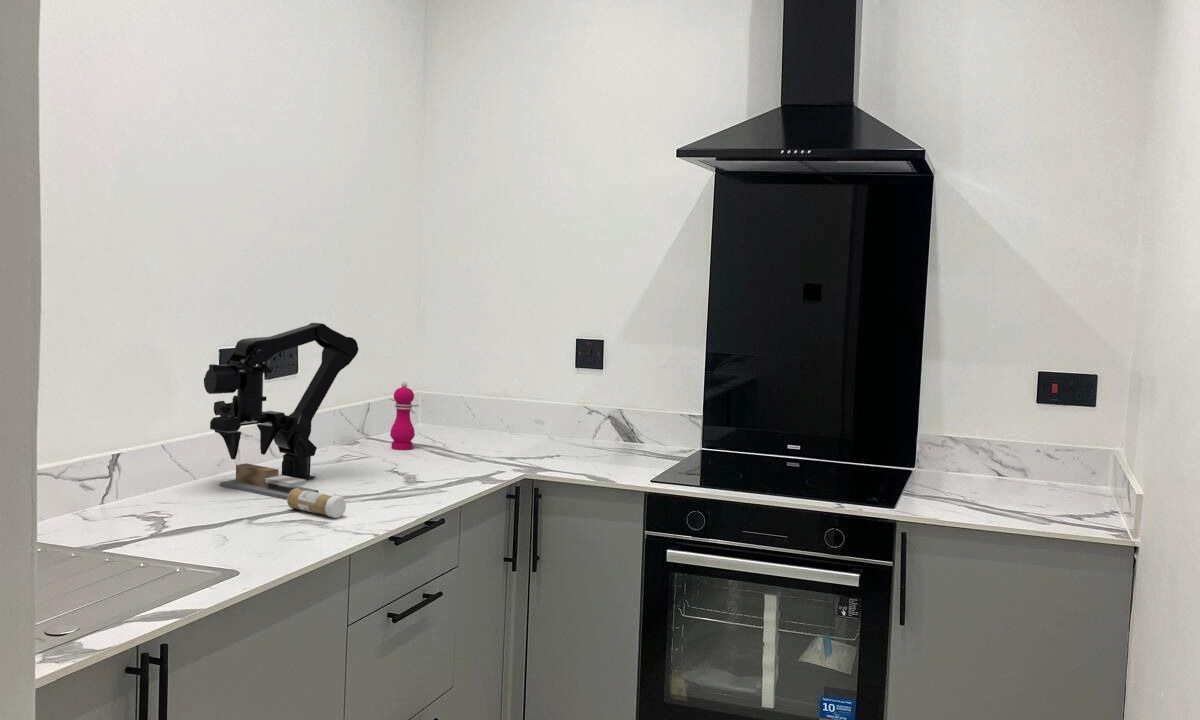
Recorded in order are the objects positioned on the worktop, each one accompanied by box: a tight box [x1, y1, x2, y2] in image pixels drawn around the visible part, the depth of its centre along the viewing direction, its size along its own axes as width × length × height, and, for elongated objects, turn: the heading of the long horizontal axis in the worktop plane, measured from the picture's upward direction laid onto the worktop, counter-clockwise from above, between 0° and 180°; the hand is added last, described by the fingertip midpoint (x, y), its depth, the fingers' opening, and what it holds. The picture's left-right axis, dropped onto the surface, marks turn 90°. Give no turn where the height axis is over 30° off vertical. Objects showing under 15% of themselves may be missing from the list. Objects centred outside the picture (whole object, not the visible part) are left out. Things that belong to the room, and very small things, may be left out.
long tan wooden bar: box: [235, 463, 307, 488], centre depth 233 cm, size 19×5×4 cm, turn 61°
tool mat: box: [219, 478, 320, 501], centre depth 233 cm, size 9×23×1 cm, turn 61°
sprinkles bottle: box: [286, 488, 347, 519], centre depth 213 cm, size 5×5×14 cm
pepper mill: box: [389, 382, 416, 451], centre depth 297 cm, size 7×7×20 cm
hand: (248, 456), depth 237 cm, fingers open, 9 cm apart
